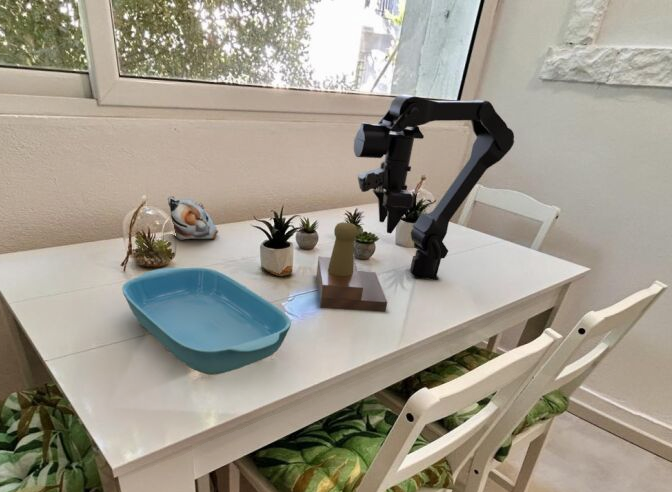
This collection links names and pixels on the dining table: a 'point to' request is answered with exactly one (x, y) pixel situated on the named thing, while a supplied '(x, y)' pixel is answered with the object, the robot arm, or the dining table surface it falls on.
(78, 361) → the dining table surface
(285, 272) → the pastry
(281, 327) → the casserole dish
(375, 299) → the shelf
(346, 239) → the olive green pawn
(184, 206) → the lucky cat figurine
